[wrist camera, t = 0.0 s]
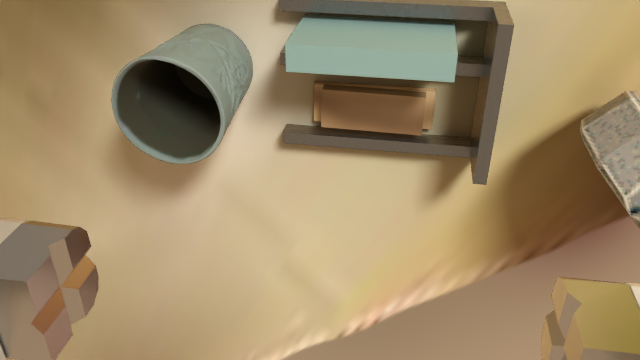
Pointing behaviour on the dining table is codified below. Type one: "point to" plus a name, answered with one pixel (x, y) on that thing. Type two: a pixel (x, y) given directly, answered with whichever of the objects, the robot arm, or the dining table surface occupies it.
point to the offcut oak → (429, 92)
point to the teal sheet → (373, 48)
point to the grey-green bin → (183, 93)
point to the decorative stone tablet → (617, 147)
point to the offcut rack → (491, 69)
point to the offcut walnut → (373, 109)
